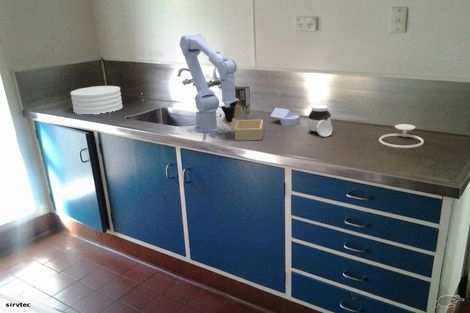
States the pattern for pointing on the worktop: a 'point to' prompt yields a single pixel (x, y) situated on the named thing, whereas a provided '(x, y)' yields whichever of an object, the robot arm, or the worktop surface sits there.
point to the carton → (249, 130)
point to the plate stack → (96, 99)
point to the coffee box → (242, 103)
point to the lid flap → (230, 123)
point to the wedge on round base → (286, 117)
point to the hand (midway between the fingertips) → (230, 120)
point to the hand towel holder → (404, 128)
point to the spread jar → (320, 121)
